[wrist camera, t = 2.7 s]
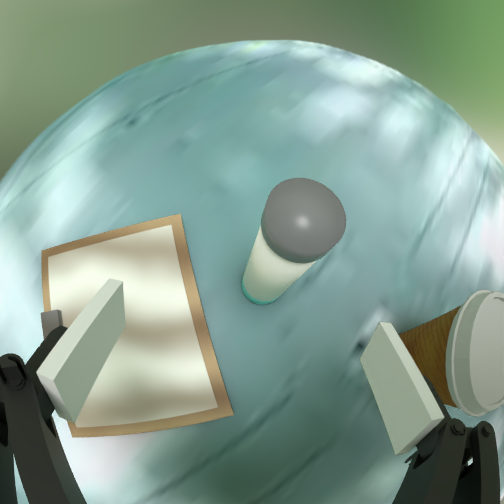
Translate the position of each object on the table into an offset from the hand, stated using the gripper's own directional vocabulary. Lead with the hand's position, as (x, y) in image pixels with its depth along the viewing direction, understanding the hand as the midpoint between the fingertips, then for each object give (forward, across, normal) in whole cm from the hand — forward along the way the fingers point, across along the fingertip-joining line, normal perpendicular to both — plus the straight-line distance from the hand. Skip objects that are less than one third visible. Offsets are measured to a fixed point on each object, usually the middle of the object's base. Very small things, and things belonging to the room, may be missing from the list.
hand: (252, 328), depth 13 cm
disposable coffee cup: (+7, +17, -8) cm, 20 cm away
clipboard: (+6, -10, -8) cm, 14 cm away
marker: (+11, +2, -3) cm, 11 cm away
